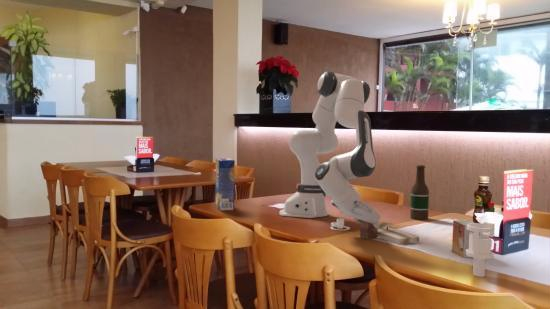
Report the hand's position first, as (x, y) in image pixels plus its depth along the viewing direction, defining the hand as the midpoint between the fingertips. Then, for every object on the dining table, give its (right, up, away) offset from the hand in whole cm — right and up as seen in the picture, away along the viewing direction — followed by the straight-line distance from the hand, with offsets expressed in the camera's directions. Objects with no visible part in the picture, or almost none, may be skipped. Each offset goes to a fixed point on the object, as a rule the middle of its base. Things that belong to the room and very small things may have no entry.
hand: (369, 224), depth 175 cm
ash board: (+9, -5, 0) cm, 10 cm away
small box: (+27, -7, -22) cm, 35 cm away
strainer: (+22, -8, -43) cm, 49 cm away
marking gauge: (+3, -5, +2) cm, 6 cm away
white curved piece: (-7, -4, +19) cm, 20 cm away
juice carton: (-60, -1, +60) cm, 85 cm away
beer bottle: (+30, -3, +38) cm, 49 cm away
